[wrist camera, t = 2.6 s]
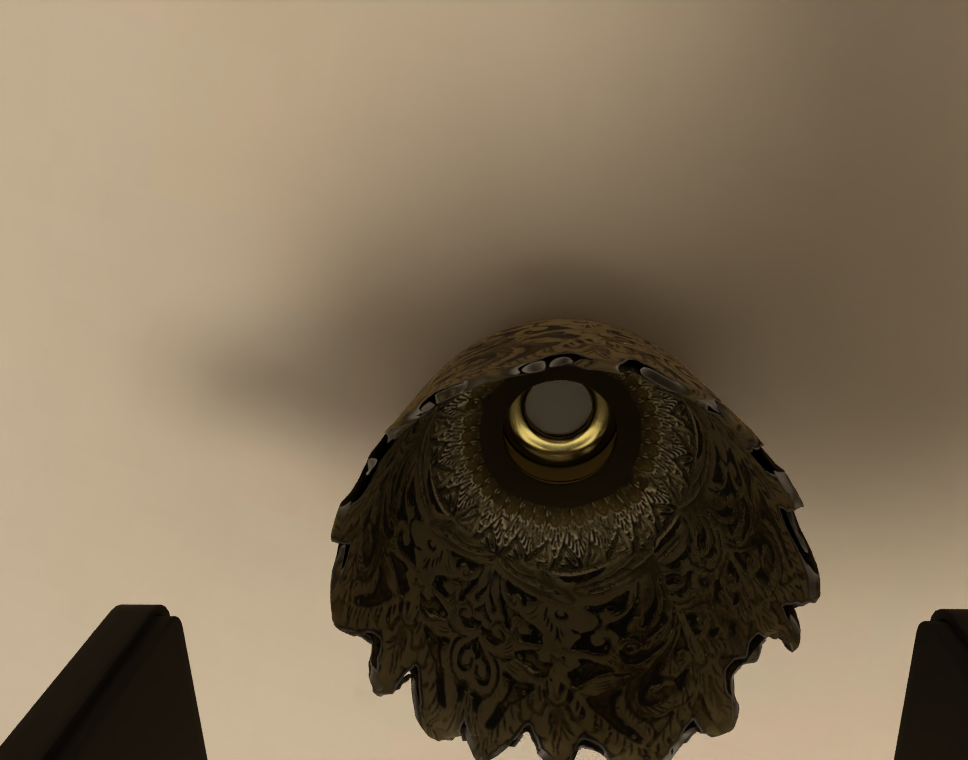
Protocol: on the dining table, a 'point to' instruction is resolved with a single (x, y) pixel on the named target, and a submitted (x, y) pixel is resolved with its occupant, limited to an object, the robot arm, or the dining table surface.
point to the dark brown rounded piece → (569, 551)
